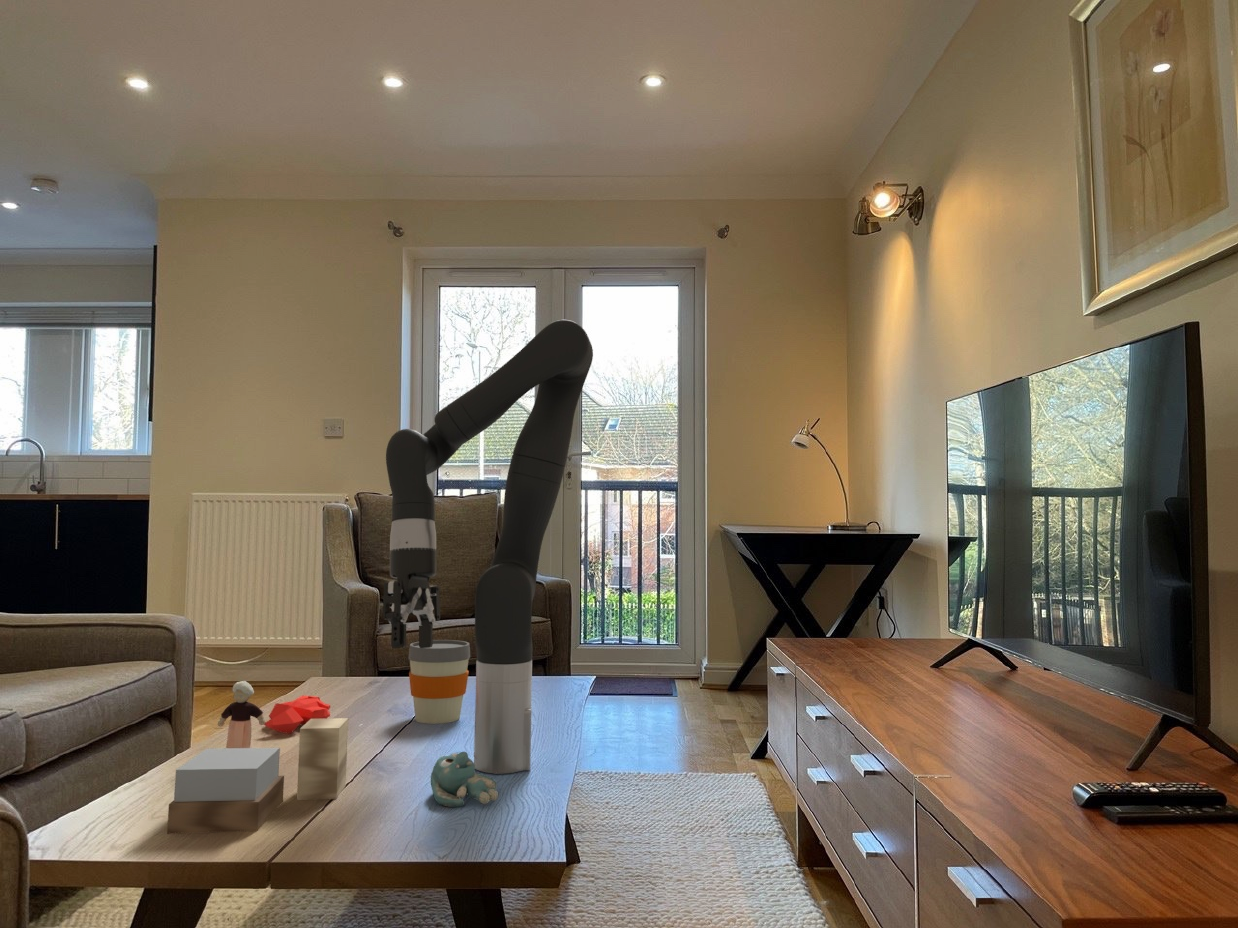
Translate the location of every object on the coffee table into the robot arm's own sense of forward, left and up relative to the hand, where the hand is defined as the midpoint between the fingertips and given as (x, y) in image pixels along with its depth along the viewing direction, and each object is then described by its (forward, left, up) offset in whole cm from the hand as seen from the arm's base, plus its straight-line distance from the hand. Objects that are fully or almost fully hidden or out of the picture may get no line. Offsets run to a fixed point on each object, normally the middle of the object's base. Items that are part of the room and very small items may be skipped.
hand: (412, 647), depth 130 cm
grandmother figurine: (+29, -10, -20) cm, 36 cm away
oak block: (+11, +9, -20) cm, 24 cm away
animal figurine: (+25, -30, -20) cm, 44 cm away
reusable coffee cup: (-1, -36, -20) cm, 41 cm away
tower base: (+21, +18, -20) cm, 34 cm away
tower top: (+21, +18, -16) cm, 32 cm away
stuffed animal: (-10, +14, -20) cm, 26 cm away
